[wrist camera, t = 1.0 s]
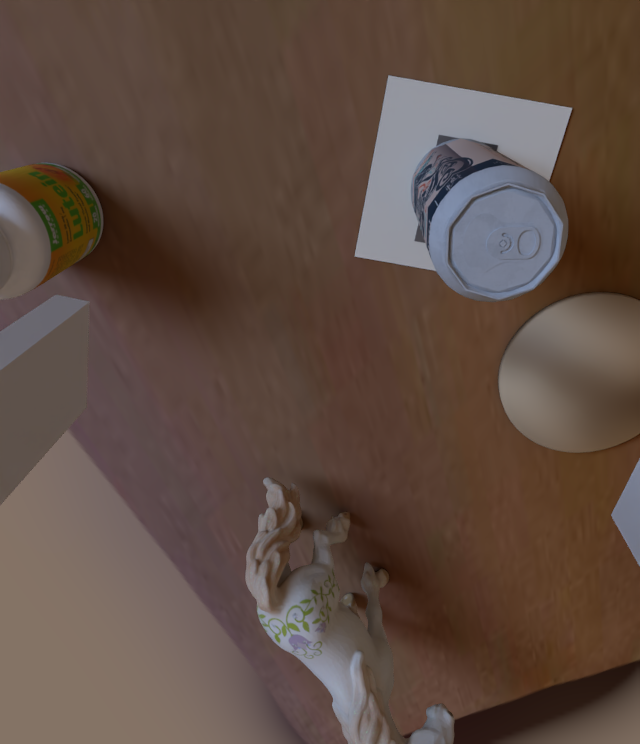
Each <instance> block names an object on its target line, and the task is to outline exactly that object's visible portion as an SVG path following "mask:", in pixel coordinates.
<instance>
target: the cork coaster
mask: <svg viewBox="0 0 640 744" xmlns="http://www.w3.org/2000/svg"><path fill="white" fill-rule="evenodd" d="M498 390H499V394H500V399H501V402H502V404H503V407H504V409H505V412H506V414H507V416H508V417H509V419H510V421H511V422H512V423H513V425H514V426H515V427H516V428H517V429H518V430H519V431H520V432H521V433H522V434H523V435H524V436H526V437H527V438H529V439H530V440H531V441H533V442H535V443H537V444H539V445H541V446H544V447H547V448H550V449H553V450H558V451H563V452H592V451H598V450H603V449H607V448H610V447H613V446H616V445H619V444H621V443H623V442H626V441H628V440H630V439H631V438H633V437H635V436H637V435H638V434H640V300H638V299H635V298H633V297H630V296H627V295H623V294H619V293H610V292H591V293H584V294H579V295H575V296H571V297H567V298H565V299H562V300H559V301H557V302H555V303H553V304H551V305H549V306H547V307H545V308H544V309H542V310H541V311H539V312H538V313H536V314H535V315H534V316H532V317H531V318H530V319H529V320H528V321H526V322H525V323H524V324H523V325H522V327H521V328H520V329H519V330H518V331H517V332H516V334H515V335H514V336H513V338H512V339H511V340H510V342H509V344H508V346H507V348H506V349H505V352H504V354H503V357H502V359H501V363H500V367H499V374H498Z"/></svg>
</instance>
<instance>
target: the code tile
mask: <svg viewBox="0 0 640 744" xmlns="http://www.w3.org/2000/svg"><path fill="white" fill-rule="evenodd" d="M571 111H572V108H568V107H563V106H557V105H552V104H546V103H540V102H535V101H529V100H523V99H518V98H512V97H507V96H501V95H495V94H490V93H484V92H479V91H473V90H467V89H462V88H456V87H450V86H445V85H439V84H434V83H428V82H422V81H417V80H411V79H405V78H400V77H394V76H388V81H387V86H386V92H385V97H384V102H383V108H382V113H381V118H380V124H379V129H378V134H377V140H376V145H375V150H374V156H373V161H372V166H371V172H370V177H369V182H368V187H367V193H366V198H365V203H364V209H363V214H362V219H361V225H360V230H359V235H358V241H357V246H356V251H355V257H360V258H366V259H372V260H378V261H383V262H389V263H395V264H400V265H406V266H412V267H417V268H423V269H429V270H434V271H436V269H435V267H434V265H433V262H432V260H431V258H430V255H429V252H428V249H427V246H426V243H425V240H424V237H423V235H422V232H421V229H420V226H419V223H418V220H417V217H416V214H415V212H414V209H413V206H412V201H411V183H412V177H413V174H414V172H415V170H416V168H417V165H418V164H419V162H420V161H421V160H422V159H423V157H424V156H425V155H426V154H427V153H428V152H429V151H430V150H431V149H432V148H434V147H436V146H438V145H439V144H441V143H443V142H446V141H449V140H452V139H459V138H465V139H472V140H476V141H479V142H481V143H483V144H485V145H487V146H489V147H490V148H492V149H494V150H496V151H498V152H499V153H501V154H503V155H505V156H507V157H508V158H510V159H512V160H514V161H516V162H517V163H519V164H521V165H523V166H524V167H526V168H528V169H530V170H532V171H534V172H536V173H537V174H539V175H541V176H542V177H544V178H545V179H547V180H548V181H549V180H550V177H551V174H552V171H553V168H554V165H555V161H556V158H557V155H558V152H559V149H560V146H561V142H562V139H563V136H564V133H565V130H566V127H567V123H568V120H569V117H570V114H571Z"/></svg>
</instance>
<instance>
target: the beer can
mask: <svg viewBox="0 0 640 744" xmlns="http://www.w3.org/2000/svg"><path fill="white" fill-rule="evenodd" d="M411 201H412V206H413V209H414V212H415V214H416V217H417V220H418V223H419V226H420V229H421V232H422V235H423V237H424V240H425V243H426V246H427V249H428V252H429V255H430V258H431V260H432V262H433V265H434V267H435V269H436V271H437V273H438V274H439V276H440V277H441V278H442V279H443V281H444V282H445V283H446V284H447V285H448V286H449V287H450V288H452V289H453V290H454V291H456V292H457V293H458V294H460V295H463V296H465V297H467V298H470V299H473V300H477V301H487V302H497V301H504V300H511V299H513V298H516V297H518V296H521V295H523V294H525V293H528V292H530V291H531V290H533V289H534V288H536V287H537V286H538V285H540V284H541V283H542V282H543V281H544V280H545V279H546V278H547V277H548V275H549V274H550V273H551V272H552V271H553V270H554V268H555V267H556V266H557V264H558V263H559V261H560V259H561V257H562V255H563V253H564V250H565V247H566V243H567V238H568V217H567V212H566V208H565V204H564V202H563V200H562V198H561V196H560V195H559V193H558V192H557V191H556V189H555V188H554V186H553V185H552V184H551V183H550V182H549V181H548V180H547V179H545V178H544V177H542V176H541V175H539V174H537V173H536V172H534V171H532V170H530V169H528V168H526V167H524V166H523V165H521V164H519V163H517V162H516V161H514V160H512V159H510V158H508V157H507V156H505V155H503V154H501V153H499V152H498V151H496V150H494V149H492V148H490V147H489V146H487V145H485V144H483V143H481V142H479V141H476V140H472V139H465V138H459V139H452V140H449V141H446V142H443V143H441V144H439V145H438V146H436V147H434V148H432V149H431V150H430V151H429V152H428V153H427V154H426V155H425V156H424V157H423V159H422V160H421V161H420V162H419V164H418V165H417V168H416V170H415V172H414V174H413V177H412V183H411Z"/></svg>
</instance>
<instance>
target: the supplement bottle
mask: <svg viewBox="0 0 640 744" xmlns="http://www.w3.org/2000/svg"><path fill="white" fill-rule="evenodd" d="M102 231H103V212H102V208H101V205H100V202H99V199H98V197H97V195H96V194H95V192H94V190H93V189H92V188H91V186H90V185H89V184H88V183H87V182H86V181H85V180H84V179H83V178H82V177H81V176H80V175H78V174H77V173H76V172H74V171H72V170H71V169H69V168H67V167H64V166H61V165H58V164H54V163H37V164H32V165H27V166H24V167H20V168H16V169H12V170H8V171H4V172H0V299H11V298H15V297H19V296H21V295H23V294H25V293H27V292H29V291H31V290H33V289H35V288H36V287H38V286H40V285H41V284H43V283H45V282H46V281H48V280H49V279H51V278H52V277H54V276H55V275H57V274H59V273H60V272H62V271H63V270H65V269H67V268H68V267H70V266H71V265H73V264H75V263H76V262H78V261H80V260H81V259H83V258H84V257H86V256H87V255H88V254H89V253H91V252H92V251H93V249H94V248H95V247H96V246H97V244H98V242H99V240H100V238H101V235H102Z"/></svg>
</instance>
